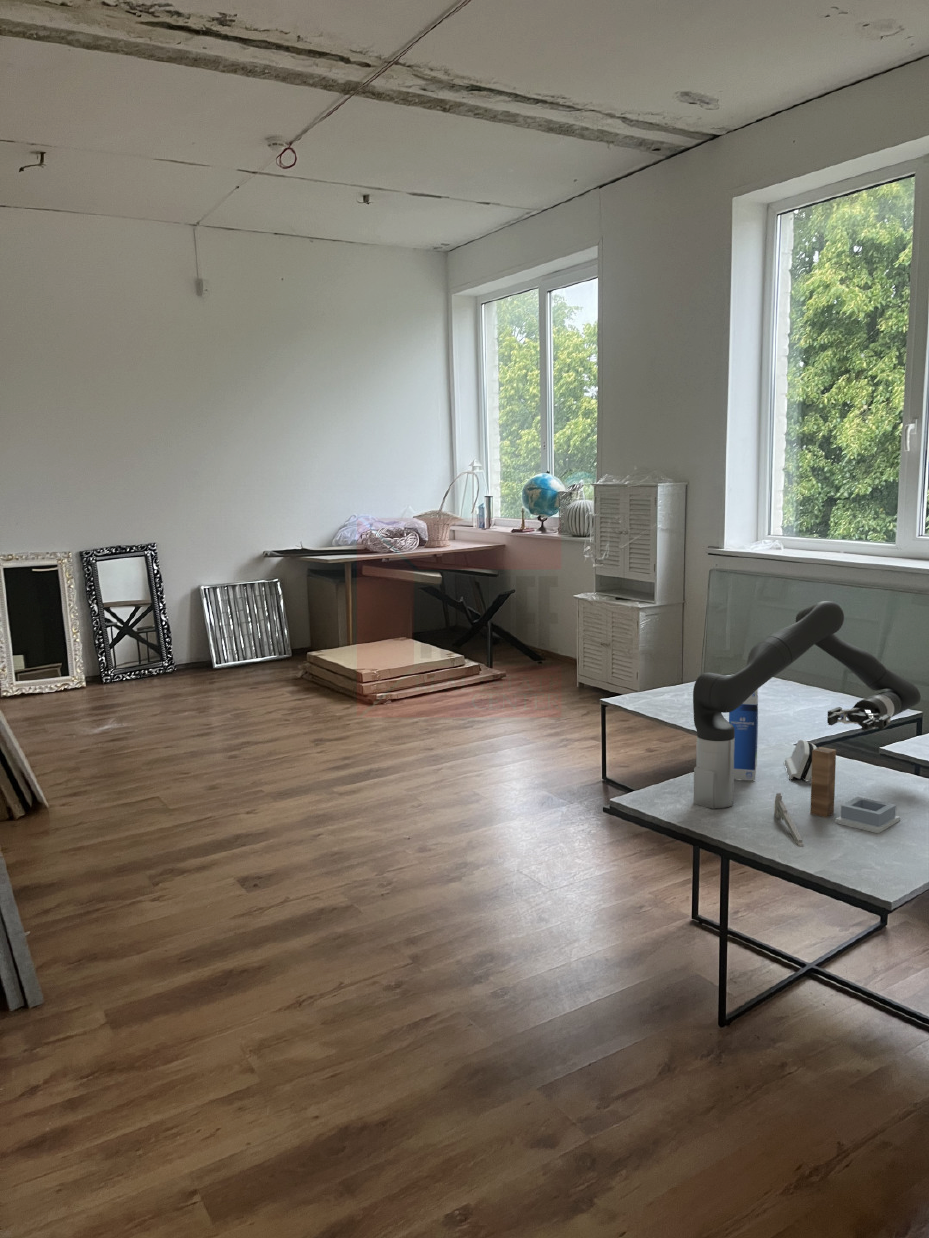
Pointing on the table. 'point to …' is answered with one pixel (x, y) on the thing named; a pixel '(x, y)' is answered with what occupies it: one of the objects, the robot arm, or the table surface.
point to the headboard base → (868, 814)
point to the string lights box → (745, 738)
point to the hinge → (800, 761)
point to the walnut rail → (823, 781)
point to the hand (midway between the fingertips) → (846, 724)
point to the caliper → (786, 818)
